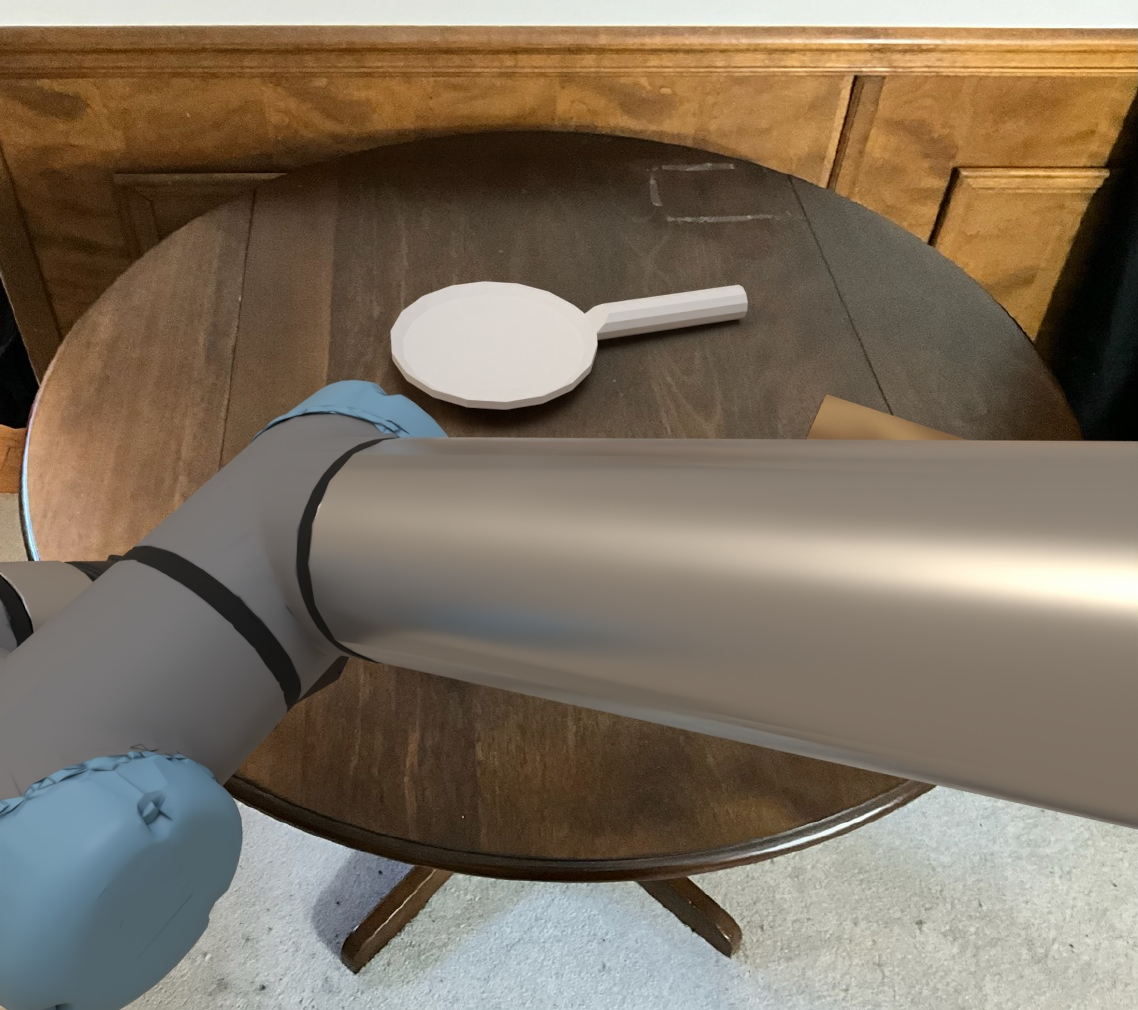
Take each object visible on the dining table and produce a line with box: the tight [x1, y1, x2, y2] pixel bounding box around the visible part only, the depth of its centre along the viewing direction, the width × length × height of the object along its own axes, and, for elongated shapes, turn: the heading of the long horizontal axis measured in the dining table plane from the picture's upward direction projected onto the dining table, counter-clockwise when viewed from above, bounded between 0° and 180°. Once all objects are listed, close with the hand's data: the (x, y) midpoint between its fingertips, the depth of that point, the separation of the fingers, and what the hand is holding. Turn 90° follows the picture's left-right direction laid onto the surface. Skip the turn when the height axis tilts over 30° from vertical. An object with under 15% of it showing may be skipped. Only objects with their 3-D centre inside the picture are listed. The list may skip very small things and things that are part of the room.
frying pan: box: [390, 280, 749, 410], centre depth 99 cm, size 35×19×5 cm, turn 109°
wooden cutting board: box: [805, 393, 967, 440], centre depth 91 cm, size 14×14×1 cm
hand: (374, 618), depth 65 cm, fingers closed
